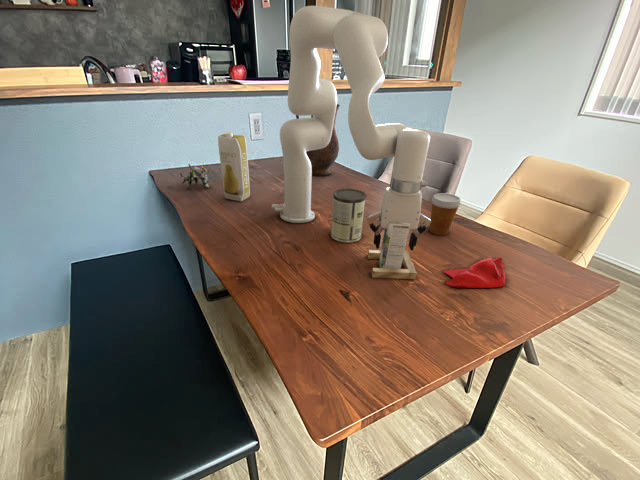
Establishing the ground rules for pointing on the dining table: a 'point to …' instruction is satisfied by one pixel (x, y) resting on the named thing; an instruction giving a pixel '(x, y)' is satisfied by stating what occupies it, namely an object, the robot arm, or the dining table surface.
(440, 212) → the disposable coffee cup
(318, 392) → the dining table surface
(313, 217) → the robot arm
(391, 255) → the syrup box
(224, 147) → the juice carton
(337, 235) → the coffee can
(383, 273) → the stop frame
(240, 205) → the dining table surface
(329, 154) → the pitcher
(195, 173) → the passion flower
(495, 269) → the cloth
